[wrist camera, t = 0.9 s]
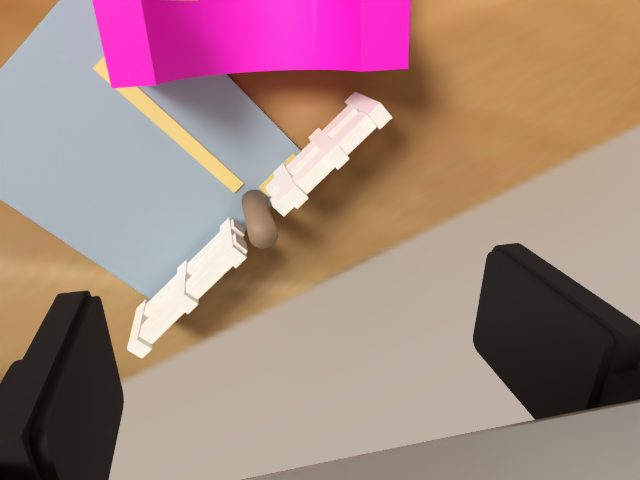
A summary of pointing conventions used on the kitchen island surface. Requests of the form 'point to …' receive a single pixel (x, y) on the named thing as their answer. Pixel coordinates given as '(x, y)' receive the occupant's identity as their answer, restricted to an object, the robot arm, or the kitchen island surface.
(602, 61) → the kitchen island surface
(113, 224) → the mat
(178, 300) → the swing panel
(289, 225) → the kitchen island surface
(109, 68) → the toy block
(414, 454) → the robot arm
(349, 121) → the fixed panel and post
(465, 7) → the kitchen island surface
